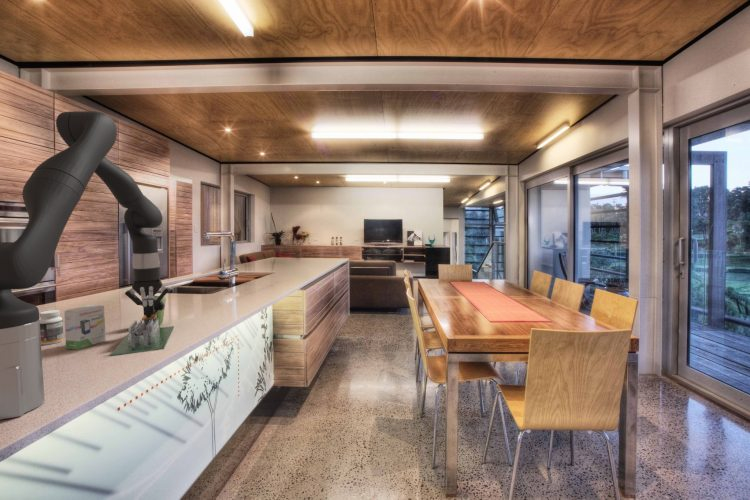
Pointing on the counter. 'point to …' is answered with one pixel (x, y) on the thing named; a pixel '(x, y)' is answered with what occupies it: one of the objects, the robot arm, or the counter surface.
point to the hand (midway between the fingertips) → (149, 316)
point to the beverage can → (159, 308)
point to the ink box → (84, 326)
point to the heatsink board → (144, 338)
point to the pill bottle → (51, 327)
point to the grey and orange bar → (144, 324)
